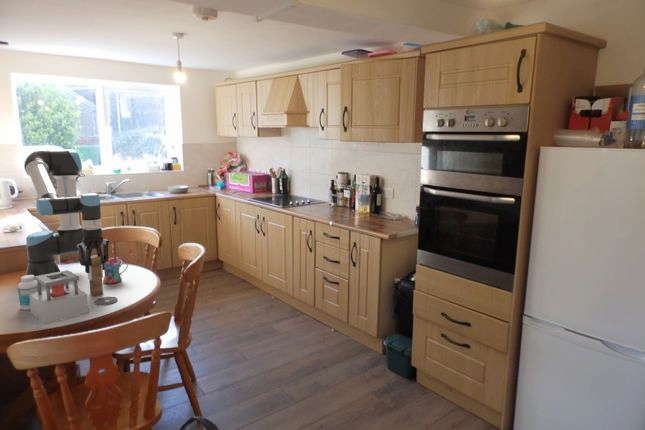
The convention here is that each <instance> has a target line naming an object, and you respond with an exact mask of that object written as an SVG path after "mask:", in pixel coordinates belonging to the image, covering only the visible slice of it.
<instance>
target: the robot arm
mask: <svg viewBox="0 0 645 430" xmlns="http://www.w3.org/2000/svg"><path fill="white" fill-rule="evenodd" d="M23 166H24V167H23V168H24V172H25V173H26V175H28V176H29V177H30V179H31V182H32V185H33V187H34V189H35V192H36V194H37V197H38V199H37V200H36V203H35V207H36V212H37V214H38V215H39V216H41V217H43V216H55V215H59V226H58V228H57V229H56V230H57V232H54V231H53V230H49V229H48V230H41V231H36V232H33V233H30V234H29V235H27V236H26V238H25V239H26V240H25V243H26V244H25V246H26V251H27V267H26V271H25V275H34V276H40V275H45V274H50V273H55V272H61V270H60V267H59V265H58V264H57V260H56V256H62V255H63V256H64V255H69V254H78V257H79V264H80V266H83V267H84V270H85V273H86V274H87V279H88V280H92V268H91V266H90V259H91V256H92V252H93V250H94V249H95V251H96V255H99V256H101V269H102V279H104V269H105V268H104V264H105V262H106V261H108V259H109V244H110V240H109V239H104V238H103V229H102V214H101V213H102V212H101V198H100V195H99V194H98V193H92V192H90V193H83V194H80V195H78V194H77V183H76V181H77V180H76V178H77V177H79V173H80V172H82V170H83V169H82V167H83V164H82V160H81V158H80V155H79V153H78V151H77V150H74V149H67V148H65V149H64V148H62V149H61V148H60V149H56V148H55V149H52V148H51V149H48V148H47V149H46V148H43V149H42V148H41V149H37V150H35V151H33V152H31V153H30V154H29V155H28V156H27V157H26V159H25V161H24V165H23ZM50 173H51V175H52V177H53V178H54V179H55V180H56V181H55V182H56V185H55V184H54V182H53V180H52V177H51V175H50ZM55 186H56V187H55ZM80 213H81V222H82V223H81V224H80V218H79V216H80ZM101 245H102V247H101ZM102 248H103V249H102ZM102 251H103V252H102ZM25 275H24V276H25ZM54 279H56V278H54ZM34 280H35V279H34ZM51 280H53V279H51Z"/></svg>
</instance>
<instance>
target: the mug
mask: <svg viewBox="0 0 645 430" xmlns="http://www.w3.org/2000/svg"><path fill="white" fill-rule="evenodd" d="M124 264H125V265H126V267H125V269H124V270H122V271H120V268H121V267H122V265H124ZM128 267H129V264H128V263H127V262H123V261H122V259H120V258H110V259H109V258H108V261H106V262H105V264H104V268H105V269H104V270H103V274H104V275H103V279H102V283H105V284H116V283H119V282H121V281H122V280H123V279H122V277H121V276H122V274H123V273H124V272H125V271H126V270H127V269H128Z"/></svg>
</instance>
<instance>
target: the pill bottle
mask: <svg viewBox="0 0 645 430" xmlns="http://www.w3.org/2000/svg"><path fill="white" fill-rule="evenodd" d="M34 279H35V276H34V275H23V276H20V280H21V282H19V283H18V285H17V291H18V300H19V301H18V302H19V308H20V309H21V310H23V311H29V310H30V311H31V308H30V298H29V294H33V293H37V292H38V285H37V281H36V280H34Z"/></svg>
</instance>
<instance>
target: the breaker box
mask: <svg viewBox="0 0 645 430" xmlns="http://www.w3.org/2000/svg"><path fill="white" fill-rule="evenodd" d="M54 278H55V279H54ZM51 279H52V280H51ZM35 280H36V281H37V285H38V292H37V293H33V294H29V298H30V308H31V310H30V314H31V315H33V316H34V317H35V318H37V320H39V321H40V322H42V323H43V324H44V325H47V324H51V323H55V322H58V321H62V320H65V319H69V318H74V317H76V316H80V314H81V315H84V313H85V314H87V313H89V312H90V310H89V297H88V293H87V292H86V291H83V290H82V289H80V288H79V284H78V283H79V282H78V281H79V280H80V276H79V275H77V274H75V273H73V272H72V271H70V270H68V269H67V270H60V272H55V273H50V274H45V275H40V276H35ZM71 282H73V284H69V283H71ZM62 283H64V290H65V295H63V296H59V297H54V298H52V288H51V286H53V285H57V284H62ZM42 286H44V287H45V289H46V290H42ZM50 288H51V289H50Z"/></svg>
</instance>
